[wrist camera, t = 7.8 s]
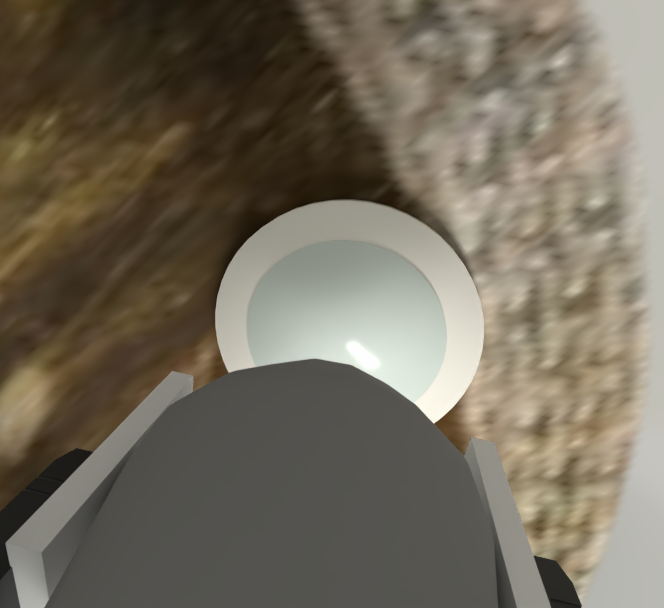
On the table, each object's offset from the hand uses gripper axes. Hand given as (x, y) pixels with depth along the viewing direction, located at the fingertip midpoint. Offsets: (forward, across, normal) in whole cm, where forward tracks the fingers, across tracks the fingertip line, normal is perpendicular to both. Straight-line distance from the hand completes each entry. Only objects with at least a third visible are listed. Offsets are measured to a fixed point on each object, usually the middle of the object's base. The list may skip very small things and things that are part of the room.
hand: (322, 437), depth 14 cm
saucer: (+9, 0, 0) cm, 9 cm away
